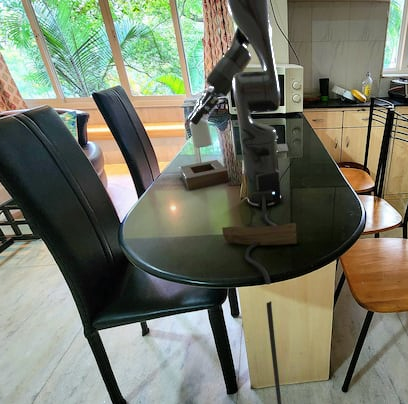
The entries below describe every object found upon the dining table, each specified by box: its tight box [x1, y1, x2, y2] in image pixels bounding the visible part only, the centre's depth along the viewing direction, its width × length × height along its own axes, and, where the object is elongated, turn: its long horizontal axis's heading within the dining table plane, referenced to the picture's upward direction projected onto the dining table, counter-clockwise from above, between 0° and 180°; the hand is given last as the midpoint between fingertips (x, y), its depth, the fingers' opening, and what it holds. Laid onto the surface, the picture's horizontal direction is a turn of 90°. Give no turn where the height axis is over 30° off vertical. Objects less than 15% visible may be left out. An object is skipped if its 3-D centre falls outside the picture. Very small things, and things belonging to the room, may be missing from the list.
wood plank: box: [221, 222, 298, 246], centre depth 60 cm, size 15×2×5 cm, turn 91°
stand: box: [179, 159, 230, 191], centre depth 96 cm, size 13×13×4 cm
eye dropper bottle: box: [189, 107, 213, 149], centre depth 90 cm, size 4×6×12 cm
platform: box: [276, 135, 290, 153], centre depth 126 cm, size 12×18×7 cm, turn 96°
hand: (192, 121), depth 88 cm, fingers closed on eye dropper bottle, 3 cm apart
